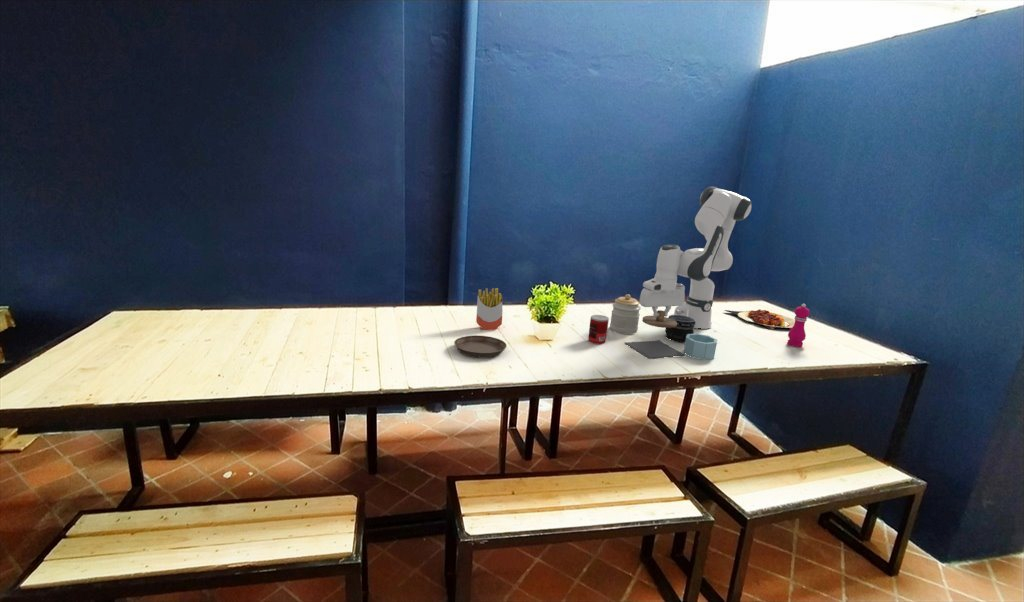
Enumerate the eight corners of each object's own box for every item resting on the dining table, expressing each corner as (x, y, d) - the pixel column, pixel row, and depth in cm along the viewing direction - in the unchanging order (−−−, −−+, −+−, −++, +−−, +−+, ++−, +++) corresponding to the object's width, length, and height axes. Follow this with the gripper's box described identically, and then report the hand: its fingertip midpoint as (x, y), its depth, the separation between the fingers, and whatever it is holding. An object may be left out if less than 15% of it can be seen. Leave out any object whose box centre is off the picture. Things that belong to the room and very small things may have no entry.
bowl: (678, 349, 223) (680, 334, 222) (700, 348, 228) (703, 333, 226) (696, 360, 212) (699, 344, 211) (720, 358, 217) (723, 342, 215)
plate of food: (720, 310, 294) (723, 298, 292) (782, 317, 293) (785, 305, 291) (741, 328, 264) (745, 315, 262) (810, 336, 263) (814, 323, 261)
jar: (628, 325, 253) (633, 290, 248) (642, 334, 241) (647, 297, 237) (604, 326, 249) (608, 290, 244) (618, 335, 237) (622, 298, 232)
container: (678, 333, 247) (682, 313, 244) (698, 342, 236) (702, 321, 233) (658, 335, 241) (661, 314, 239) (677, 344, 230) (681, 323, 228)
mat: (624, 343, 226) (624, 342, 226) (659, 341, 233) (659, 340, 232) (648, 358, 210) (649, 357, 210) (685, 356, 216) (685, 354, 216)
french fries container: (501, 329, 233) (504, 290, 228) (478, 330, 230) (480, 290, 225) (499, 326, 237) (501, 288, 232) (475, 326, 234) (478, 288, 229)
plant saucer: (471, 338, 219) (472, 331, 218) (515, 349, 210) (515, 341, 210) (443, 352, 202) (443, 344, 201) (489, 365, 193) (490, 356, 192)
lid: (635, 318, 221) (637, 307, 220) (662, 317, 226) (664, 306, 225) (655, 328, 209) (657, 316, 208) (683, 326, 214) (685, 315, 213)
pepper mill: (805, 348, 238) (815, 306, 233) (788, 346, 239) (798, 304, 234) (800, 343, 245) (809, 302, 240) (784, 341, 246) (793, 300, 241)
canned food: (607, 340, 229) (610, 316, 226) (603, 345, 222) (606, 321, 219) (591, 337, 232) (593, 313, 229) (585, 342, 225) (588, 317, 222)
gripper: (680, 282, 220) (675, 313, 224) (639, 282, 213) (635, 315, 216) (690, 285, 214) (685, 317, 218) (648, 286, 207) (644, 319, 211)
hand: (660, 316), depth 217 cm, fingers closed on lid, 3 cm apart
